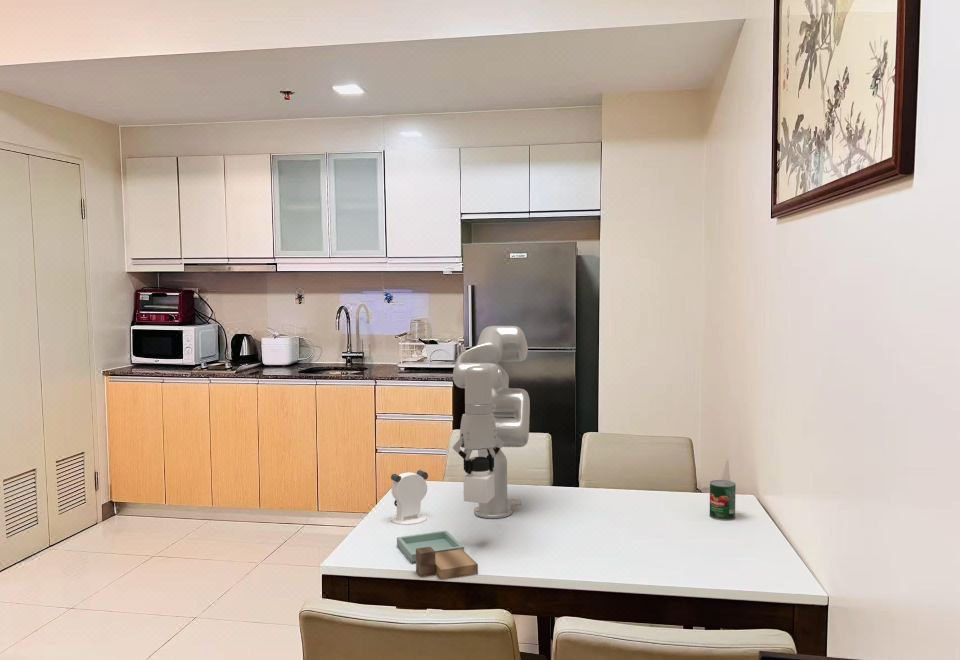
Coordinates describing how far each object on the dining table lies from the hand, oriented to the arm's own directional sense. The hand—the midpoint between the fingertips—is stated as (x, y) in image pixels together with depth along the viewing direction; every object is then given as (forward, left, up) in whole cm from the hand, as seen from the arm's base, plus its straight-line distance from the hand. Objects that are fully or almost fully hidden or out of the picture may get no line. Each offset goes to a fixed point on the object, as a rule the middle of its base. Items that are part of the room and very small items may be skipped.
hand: (479, 471), depth 206 cm
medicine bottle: (0, 0, -8) cm, 8 cm away
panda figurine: (+12, -31, -22) cm, 39 cm away
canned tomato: (-81, +7, -22) cm, 84 cm away
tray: (+15, -1, -21) cm, 26 cm away
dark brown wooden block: (+21, +14, -21) cm, 33 cm away
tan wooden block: (+14, +14, -22) cm, 29 cm away
